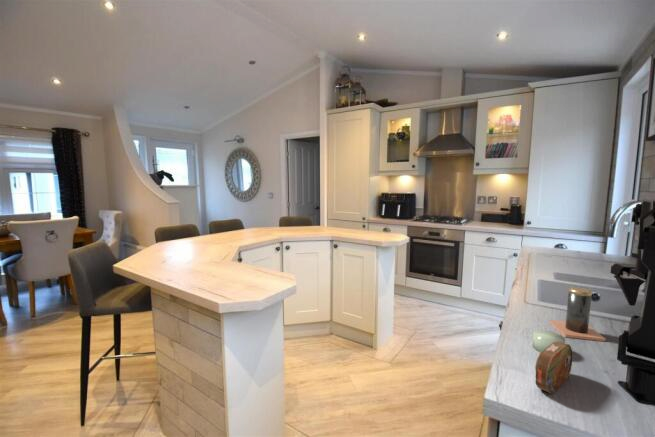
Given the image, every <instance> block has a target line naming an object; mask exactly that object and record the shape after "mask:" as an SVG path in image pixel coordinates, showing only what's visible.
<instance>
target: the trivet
mask: <svg viewBox="0 0 655 437" xmlns="http://www.w3.org/2000/svg"><path fill="white" fill-rule="evenodd" d="M549 323H550V324H551V325H552V326H553V327H554V328H555V329H556V331H558V332H559V334H560V335H561V336H563V337H564V338H570V339H579V340H588V341H589V340H590V341H597V342H599V341H600V342H606V339H607V338H606V337H604V336H603V335H601V334H600V333H599V332H597V331H596V330H595V329H594V328H592V327H591V326H590V325H589V326H588V333H577V332H573V331H570V330H568V329H567V328H566V327H565V325H566V321H561V320H549Z"/></svg>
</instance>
